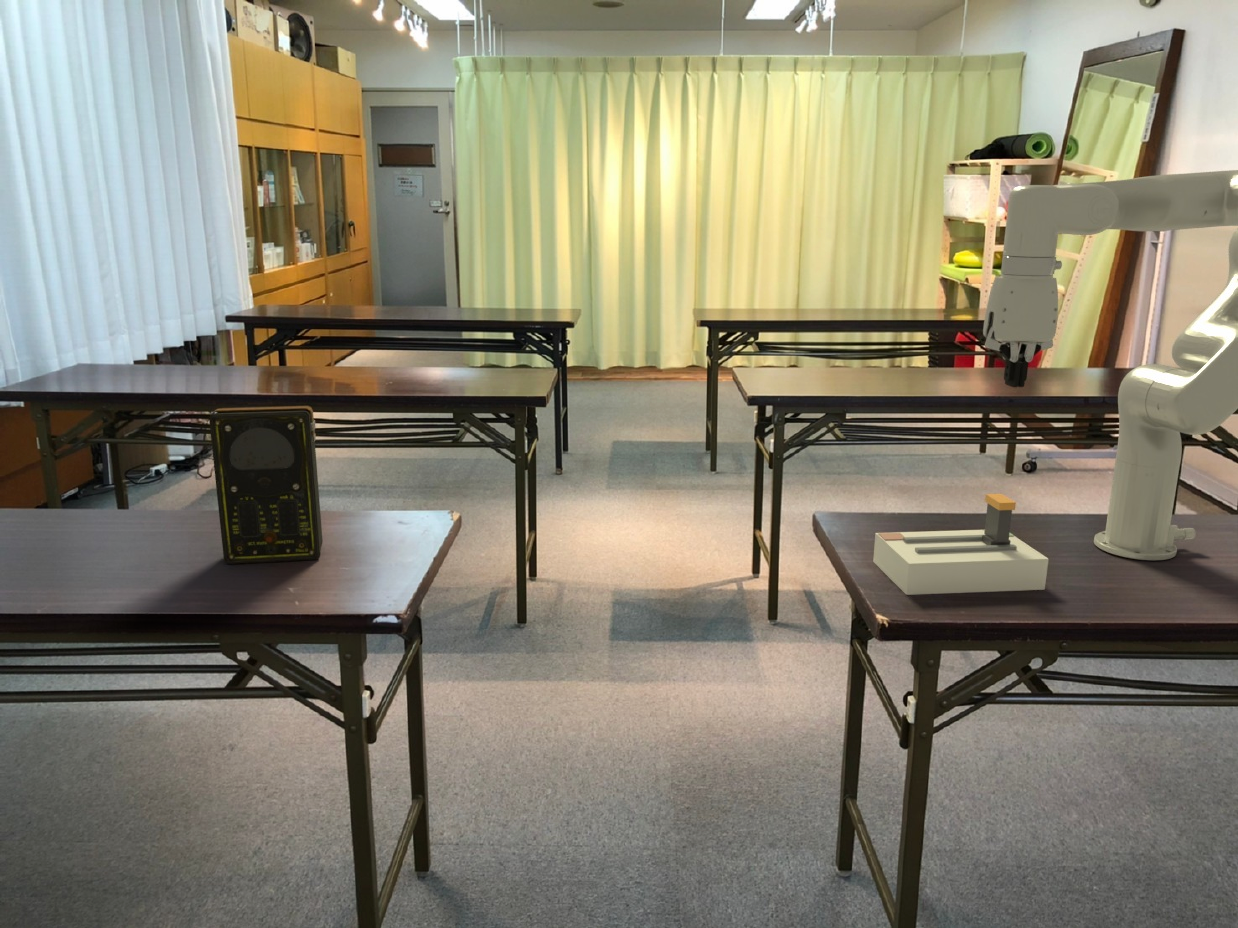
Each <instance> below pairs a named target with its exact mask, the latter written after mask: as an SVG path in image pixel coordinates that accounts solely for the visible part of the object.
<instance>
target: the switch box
mask: <svg viewBox="0 0 1238 928" xmlns="http://www.w3.org/2000/svg"><path fill="white" fill-rule="evenodd" d="M984 532H985V529H965V530H964V529H963V530H962V529H961V530H935V531H934V530H932V531H927V530H926V531H899V532H898V531H897V532H896V531H895V532H875V534H874V536H875V537H874V545H873V547H874V548H873V549H874V550H873V561H872V562H873V563H874V564H875V565H876V567H878V568H879V569H880V570H881V571H882V572H883V573H884V574H885V575H886V576H887V578H889V579H890V581H892V582H893V583H894V584H895V585H896V587H898V588H899V589H900V590H901V591H902V592H903V593H904V594H905V595H906V596H907V595H908V596H909V595H912V596H913V595H932V594H934V595H938V594H962V593H963V594H964V593H986V592H987V593H990V592H992V593H993V592H1014V591H1015V592H1017V591H1018V592H1019V591H1020V592H1021V591H1033V590H1034V591H1037V590H1039V591H1042V590H1045V589H1046V583H1047V582H1046V580H1047V574H1048V567H1049V558H1048V557H1047V556H1045V555H1044V554H1042V553H1041V552H1040V551H1037V549H1034V548H1033V547H1032V546H1030V545H1028V543H1025V542H1024V541H1022V539H1019V537H1017V536H1015V535H1014V534H1013V533H1011V532H1010V533H1009V540H1010V545H987V544H985V543H984V542H982V535H985V534H984Z"/></svg>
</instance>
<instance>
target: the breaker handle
mask: <svg viewBox="0 0 1238 928" xmlns="http://www.w3.org/2000/svg"><path fill="white" fill-rule="evenodd" d="M984 503H986V504H987V507H986V514H985V515H986V516H985V524H984V530H985V532H984V534H985V535H982V542H984V543H985V544H987V545H1010V540H1009V533H1011V525H1012V524H1011V522H1012V515H1013V511H1015V510H1016V506H1017V502H1016V501H1014V500H1013V499H1011V498H1009V497H1007V496H1006V495H1004V494H1003V493H987V494H986V493H985V499H984Z"/></svg>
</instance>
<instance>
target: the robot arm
mask: <svg viewBox="0 0 1238 928" xmlns="http://www.w3.org/2000/svg"><path fill="white" fill-rule="evenodd" d="M1005 222H1006V223H1005V232H1004V240H1003V249H1002V250H1003V251H1002V260H1001V268H1000V276H994V279H993V282H992V285H991V289H990V292H989V296H988V299H987V304H986V310H985V314H984V321H983V329H982V334H983V336H984V337H985V343H984V347H985V348H987V349H989V350H993V351H996V352H998V353H999V354H1000V355H1001V356H1002V359H1003V360H1005V365H1004V373H1003V380H1004V384H1005V385H1006V386H1009V387H1011V388H1024V387H1025V382H1026V380H1027V379H1028V370H1029V363H1030V362H1032V361H1033V359H1034V357H1035V356H1036V355H1037V354H1038V353H1039V352H1040V351H1045V350H1048V349H1051V348H1053V347H1054V341H1053V339H1054V338H1055V336H1056V333H1057V327H1058V318H1059V317H1058V316H1059V315H1058V314H1059V290H1058V288H1059V287H1058V281H1057V278H1056V277H1054V275H1055V271H1057V270H1061V269H1062V266H1063V263H1062V261H1061V260H1057V257H1056V254H1057V247H1058V238H1059V234H1062V235H1073V236H1093V235H1098V234H1100V233H1103V232H1104V231H1106V230H1121V231H1132V232H1167V231H1177V230H1178V231H1180V230H1188V229H1191V230H1192V229H1203V228H1217V227H1230V226H1231V227H1233V226H1234V227H1236V229H1235V231H1234V232H1233V233H1232V236H1231V238H1230V240H1229V244H1228V264H1229V265H1228V266H1229V267H1228V277H1227V281H1226V284H1225V286H1224V288H1223V289H1222V291H1221V292H1220V293H1219V294H1218V295H1217V297H1215V299H1214V300H1213V301H1212V302H1211V303H1210V304H1209V305H1208V306H1207V307H1206V308H1205V309H1204V310H1203V311H1201V313H1200V314H1199V315H1198V316H1197V317H1195V318H1194V320H1193V321H1191V322H1190V323H1189V325H1187V326H1186V327H1185V328H1184V329H1183V330H1182V332H1181V333H1180V334H1179V335H1178V336H1176V337H1177V338H1176V339H1175V340H1174V342H1173V344H1172V346H1171V357H1172V360H1173V361H1174V363H1175V365H1176V366H1178V367H1179V368H1178V367H1174V366H1169V365H1165V364H1159V363H1158V364H1157V363H1148V364H1142V365H1140V366H1137V367H1135V368H1133V369H1131V370H1130V371H1129V372H1128V373H1127V374H1126V375H1125V376H1124V377H1123V378H1122V380H1121V382H1120V385H1119V388H1118V392H1117V393H1118V394H1117V405H1118V407H1117V408H1118V420H1119V421H1118V422H1119V423H1118V424H1119V425H1118V427H1119V428H1118V439H1117V448H1116V455H1115V462H1114V469H1113V474H1112V475H1113V476H1112V483H1111V490H1110V497H1109V504H1108V510H1107V511H1108V512H1107V517H1106V518H1107V519H1106V525H1105V530H1103V531H1100V532H1098V533H1095V535H1094V539H1093V543H1094V545H1095V546H1096V547H1097V548H1098V549H1100V550H1101V551H1104V552H1107V553H1108V554H1111V555H1115V556H1119V557H1123V558H1128V559H1133V560H1140V561H1164V560H1166V561H1167V560H1169V559H1172V558H1174V557H1175V556H1176V555H1177V552H1178V547H1177V546H1176V545H1175V544H1174V542H1178V540H1193V539H1194V540H1195V538H1196V535H1197V533H1196V530H1195V528H1193V527H1181V528H1179V526H1178V525H1177V524H1171V521H1172V515H1173V511H1174V510H1173V509H1174V504H1175V497H1176V490H1177V484H1178V478H1179V473H1180V472H1179V471H1180V466H1181V461H1182V454H1183V453H1182V452H1183V451H1182V450H1183V448H1182V446H1183V445H1182V437H1181V433H1182V434H1185V435H1190V436H1191V435H1193V436H1197V435H1205V434H1207V433H1210V432H1211V431H1213V430H1215V429H1217V428H1218V427H1220V425H1222V424H1223V423H1224V422H1226V420H1227V419H1229V418H1230V417H1231V416H1232V414H1234V413H1235V412H1236V411H1237V410H1238V169H1235V170H1234V169H1231V170H1216V171H1203V172H1202V171H1201V172H1190V173H1174V174H1159V175H1158V174H1157V175H1149V176H1142V177H1141V176H1140V177H1134V178H1129V179H1121V180H1120V179H1118V180H1107V181H1095V182H1092V181H1091V182H1081V183H1080V182H1079V183H1065V184H1054V185H1049V184H1048V185H1047V184H1046V185H1045V184H1031V185H1029V184H1028V185H1023V184H1022V185H1018V186H1016V187H1014V188H1013V189H1012V190H1011V191H1010V193H1009V196H1008V203H1007V213H1006V220H1005Z"/></svg>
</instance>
